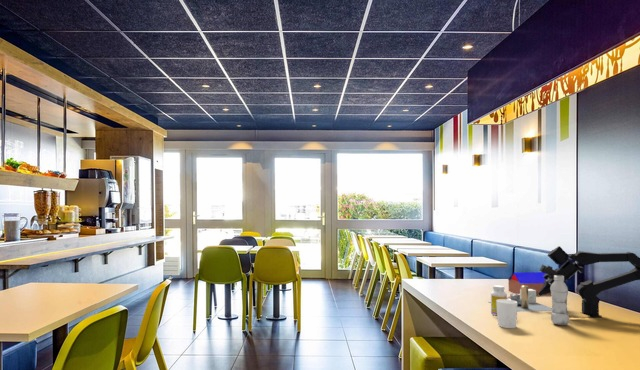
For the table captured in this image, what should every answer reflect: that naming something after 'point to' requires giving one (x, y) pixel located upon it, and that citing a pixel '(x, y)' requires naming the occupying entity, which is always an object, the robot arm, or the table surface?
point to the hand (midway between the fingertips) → (538, 294)
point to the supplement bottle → (497, 297)
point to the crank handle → (524, 297)
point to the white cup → (506, 313)
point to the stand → (532, 303)
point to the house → (526, 281)
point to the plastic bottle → (559, 301)
